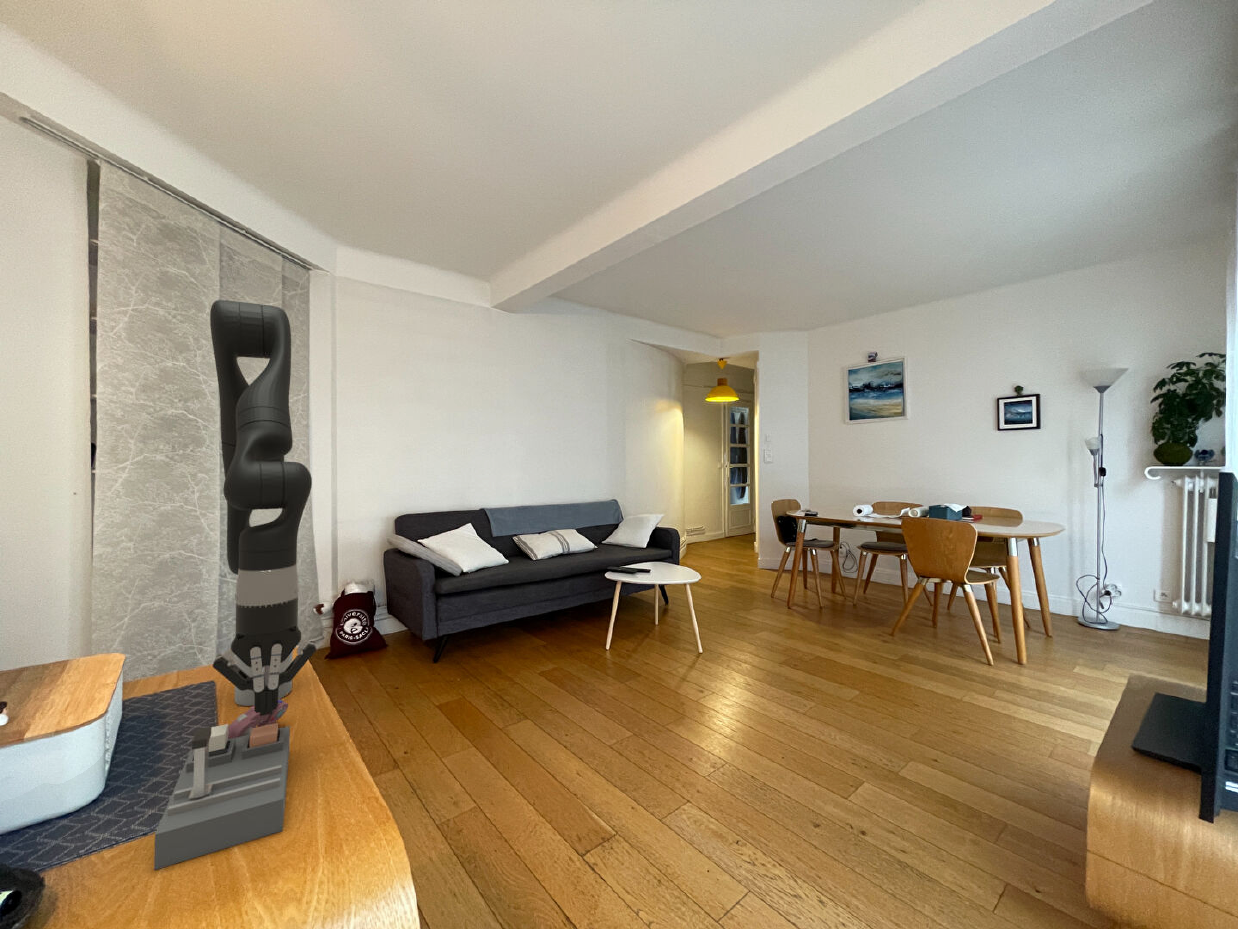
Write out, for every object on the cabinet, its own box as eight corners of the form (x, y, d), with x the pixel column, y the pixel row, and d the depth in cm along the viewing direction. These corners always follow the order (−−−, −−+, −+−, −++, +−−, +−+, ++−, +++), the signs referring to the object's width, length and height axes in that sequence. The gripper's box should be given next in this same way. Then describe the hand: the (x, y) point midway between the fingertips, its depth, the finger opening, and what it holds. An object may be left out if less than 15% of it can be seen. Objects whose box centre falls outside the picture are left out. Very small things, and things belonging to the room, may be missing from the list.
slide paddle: (193, 793, 63) (194, 730, 63) (213, 788, 64) (214, 726, 64) (187, 808, 60) (188, 742, 60) (208, 803, 61) (209, 738, 61)
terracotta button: (251, 741, 74) (252, 728, 74) (277, 736, 76) (278, 722, 76) (249, 752, 71) (249, 738, 71) (276, 746, 73) (276, 732, 73)
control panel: (191, 774, 73) (191, 739, 73) (289, 751, 79) (289, 718, 79) (154, 870, 56) (155, 824, 56) (282, 831, 62) (283, 789, 62)
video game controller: (228, 765, 78) (245, 727, 78) (206, 748, 79) (224, 711, 78) (281, 732, 88) (297, 698, 87) (262, 718, 89) (278, 684, 88)
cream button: (199, 743, 71) (200, 729, 71) (228, 737, 73) (228, 724, 73) (195, 755, 68) (195, 740, 68) (224, 748, 70) (225, 734, 70)
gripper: (319, 585, 80) (318, 692, 81) (214, 595, 73) (213, 713, 74) (320, 597, 74) (318, 713, 74) (205, 609, 67) (204, 737, 67)
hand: (266, 712), depth 74 cm, fingers closed
